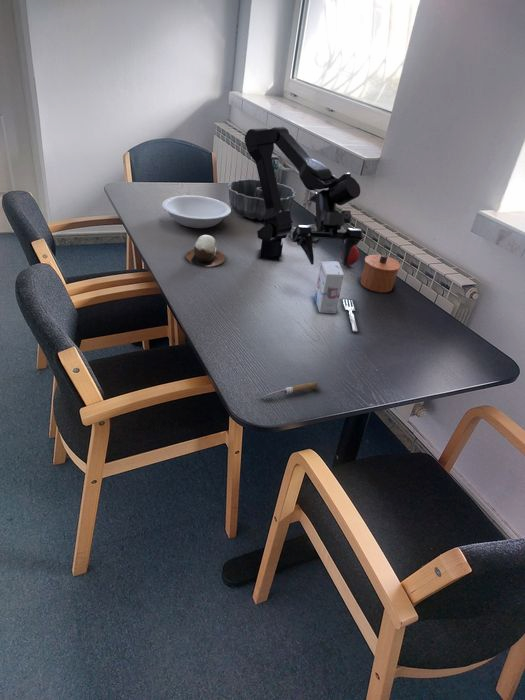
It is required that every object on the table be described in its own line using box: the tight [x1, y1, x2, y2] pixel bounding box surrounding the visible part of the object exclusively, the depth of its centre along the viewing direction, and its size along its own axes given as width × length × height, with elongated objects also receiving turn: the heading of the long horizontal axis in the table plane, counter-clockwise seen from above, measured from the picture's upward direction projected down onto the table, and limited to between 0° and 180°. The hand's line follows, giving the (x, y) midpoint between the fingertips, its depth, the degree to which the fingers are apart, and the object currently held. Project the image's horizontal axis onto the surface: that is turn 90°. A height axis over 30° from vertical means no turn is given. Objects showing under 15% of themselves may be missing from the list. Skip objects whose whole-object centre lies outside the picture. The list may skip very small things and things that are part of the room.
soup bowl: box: [161, 194, 232, 229], centre depth 172 cm, size 24×24×7 cm
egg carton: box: [287, 223, 319, 242], centre depth 174 cm, size 11×8×4 cm
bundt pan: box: [226, 178, 297, 222], centre depth 188 cm, size 26×26×10 cm
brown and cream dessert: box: [185, 234, 226, 267], centre depth 150 cm, size 12×10×10 cm
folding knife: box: [260, 381, 319, 399], centre depth 100 cm, size 14×2×2 cm, turn 115°
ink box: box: [314, 260, 345, 314], centre depth 131 cm, size 9×5×12 cm, turn 5°
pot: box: [359, 261, 399, 293], centre depth 148 cm, size 10×10×7 cm
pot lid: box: [364, 254, 402, 271], centre depth 145 cm, size 11×11×3 cm
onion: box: [340, 245, 360, 267], centre depth 157 cm, size 6×6×8 cm
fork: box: [342, 299, 359, 334], centre depth 132 cm, size 17×3×1 cm, turn 178°
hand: (328, 265), depth 132 cm, fingers open, 9 cm apart
